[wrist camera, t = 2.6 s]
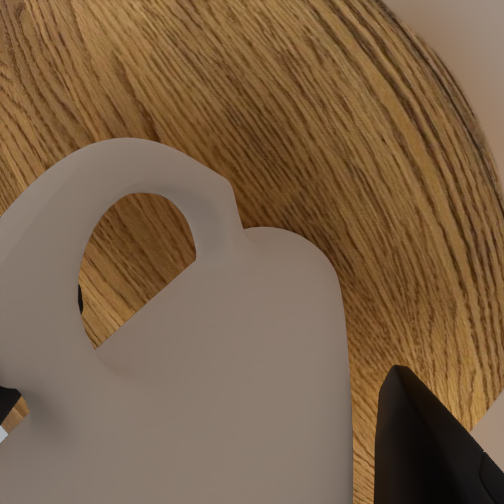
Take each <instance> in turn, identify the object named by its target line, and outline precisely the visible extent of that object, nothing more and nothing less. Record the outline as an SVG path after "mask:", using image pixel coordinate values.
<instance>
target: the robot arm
mask: <svg viewBox="0 0 504 504" xmlns="http://www.w3.org/2000/svg"><path fill="white" fill-rule="evenodd" d="M78 305H79V310H80V314H82V312H83V301H82V294H81V287H80V285H79V284H78ZM21 396H22V395H21V393H20V392H19V391H18V390H17V389H15V388H6V387H2V386H0V425H1V424H2V422H3V421H4V419H5V418H6V417H7V415H8V414H9V412H10V411H11V409H12V408H13V407H14V405H15V404H16V403H17V401H18V400H19V398H20V397H21ZM483 451H484V450H483V449H482V448H481V446H480V445H479V444H478V443H477V442H476V441H475V440H474V438H473V437H472V436H471V435H470V434H469V433H468V432H467V430H466V429H465V428H464V427H463V426H462V425H461V424H460V423H459V422H458V420H457V419H456V418H455V417H454V416H453V415H452V414H451V413H450V412H449V410H448V409H447V408H446V407H445V406H444V405H443V404H442V403H441V402H440V400H439V399H438V398H437V397H436V396H435V395H434V394H433V393H432V392H431V391H430V390H429V389H428V387H427V386H426V385H425V384H424V383H423V382H422V381H421V380H420V379H419V378H418V377H417V376H416V375H415V373H414V372H413V371H412V370H411V369H410V368H409V367H407V366H401V365H394V366H392V367H391V369H390V371H389V373H388V375H387V377H386V379H385V380H384V382H383V384H382V386H381V388H380V392H379V399H378V413H377V425H376V435H375V478H374V504H504V473H503V471H501V469H500V468H499V467H498V466H497V465H496V464H495V462H494V461H493V460H492V459H491V458H490V457H489V456H488V454H487V453H486V452H483Z"/></svg>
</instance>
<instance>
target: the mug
mask: <svg viewBox="0 0 504 504" xmlns="http://www.w3.org/2000/svg"><path fill="white" fill-rule="evenodd" d="M132 193H152V194H158V195H161V196H163V197H165V198H167V199H168V200H170V201H171V202H172V203H173V204H174V205H176V207H177V208H178V209H179V210H180V211H181V212H182V213H183V215H184V216H185V218H186V220H187V222H188V224H189V227H190V229H191V232H192V236H193V240H194V243H195V248H196V260H195V261H194V262H193V263H192V264H190V265H189V266H188V267H187V268H186V269H185V270H184V271H183V272H181V273H180V274H179V275H178V276H177V277H176V278H175V279H174V280H172V281H171V282H170V283H169V284H168V285H167V286H166V287H165V288H163V289H162V290H161V291H160V292H159V293H158V294H157V295H156V296H154V297H153V298H152V299H151V300H150V301H149V302H148V303H147V304H145V305H144V306H143V307H142V308H141V309H140V310H139V311H138V312H137V313H135V314H134V315H133V316H132V317H131V318H130V319H129V320H128V321H127V322H125V323H124V324H123V325H122V326H121V327H120V328H119V329H118V330H117V331H116V332H114V333H113V334H112V335H111V336H110V337H109V338H108V339H107V340H106V341H105V342H103V343H102V344H101V345H100V346H99V347H98V348H97V349H96V350H94V348H93V346H92V344H91V342H90V340H89V338H88V336H87V334H86V332H85V330H84V326H83V322H82V318H81V314H80V310H79V305H78V279H79V271H80V266H81V262H82V258H83V254H84V250H85V248H86V245H87V243H88V241H89V238H90V236H91V234H92V232H93V230H94V228H95V226H96V225H97V223H98V222H99V220H100V219H101V217H102V216H103V215H104V213H105V212H106V211H107V210H108V209H109V208H110V207H111V206H112V205H113V204H114V203H115V202H117V201H118V200H119V199H120V198H122V197H124V196H126V195H128V194H132ZM0 386H2V387H6V388H15V389H17V390H18V391H19V392H20V393H21V395H22V396H23V398H24V400H25V401H26V404H27V406H28V409H29V411H30V413H29V414H28V415H27V416H26V417H25V418H24V419H23V420H22V421H21V422H20V423H19V424H18V425H17V426H16V427H15V428H14V429H13V430H12V431H11V432H10V433H9V434H8V436H7V437H6V438H5V439H4V440H3V441H2V442H1V443H0V504H352V501H353V432H352V406H351V387H350V371H349V358H348V345H347V333H346V322H345V313H344V306H343V300H342V294H341V288H340V283H339V280H338V277H337V274H336V272H335V270H334V268H333V266H332V264H331V263H330V261H329V260H328V258H327V257H326V256H325V255H324V253H323V252H322V251H321V250H320V249H319V248H318V247H317V246H315V245H314V244H313V243H311V242H310V241H309V240H307V239H305V238H304V237H302V236H300V235H298V234H296V233H293V232H291V231H288V230H284V229H280V228H275V227H252V228H247V229H243V226H242V223H241V220H240V217H239V213H238V209H237V205H236V200H235V196H234V192H233V189H232V186H231V184H230V182H229V181H228V180H227V179H226V178H224V177H223V176H221V175H219V174H218V173H216V172H215V171H213V170H211V169H210V168H208V167H206V166H205V165H203V164H201V163H200V162H198V161H196V160H195V159H193V158H191V157H190V156H188V155H186V154H184V153H182V152H180V151H179V150H176V149H174V148H172V147H170V146H167V145H164V144H161V143H158V142H155V141H150V140H146V139H140V138H115V139H109V140H103V141H100V142H97V143H93V144H91V145H88V146H86V147H84V148H81V149H79V150H77V151H75V152H73V153H72V154H70V155H68V156H67V157H65V158H64V159H62V160H60V161H59V162H57V163H56V164H55V165H53V166H52V167H51V168H49V169H48V170H47V171H45V172H44V173H43V174H42V175H41V176H39V177H38V178H37V179H36V180H35V181H34V182H33V183H32V184H31V185H30V186H29V187H28V188H27V189H26V190H25V191H24V192H23V193H22V194H21V195H20V196H19V197H18V198H17V199H16V200H15V201H14V202H13V203H12V205H11V206H10V207H9V208H8V209H7V210H6V212H5V213H4V214H3V215H2V216H1V218H0Z"/></svg>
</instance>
